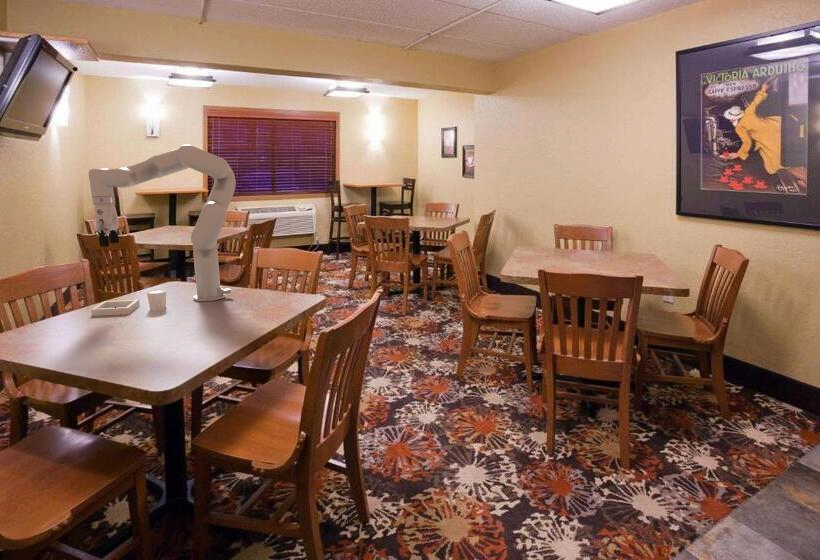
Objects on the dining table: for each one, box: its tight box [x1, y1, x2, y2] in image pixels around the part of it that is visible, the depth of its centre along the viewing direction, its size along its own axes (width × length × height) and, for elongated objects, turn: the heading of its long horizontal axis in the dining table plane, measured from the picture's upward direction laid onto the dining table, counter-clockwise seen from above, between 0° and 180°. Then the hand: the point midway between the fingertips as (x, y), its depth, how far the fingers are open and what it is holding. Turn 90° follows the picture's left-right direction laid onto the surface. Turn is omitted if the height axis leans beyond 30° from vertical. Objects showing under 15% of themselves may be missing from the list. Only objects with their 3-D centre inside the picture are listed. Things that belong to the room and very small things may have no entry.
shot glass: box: [146, 289, 167, 311], centre depth 195 cm, size 7×7×7 cm
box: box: [90, 299, 140, 317], centre depth 193 cm, size 13×13×2 cm
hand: (109, 244), depth 195 cm, fingers open, 9 cm apart
